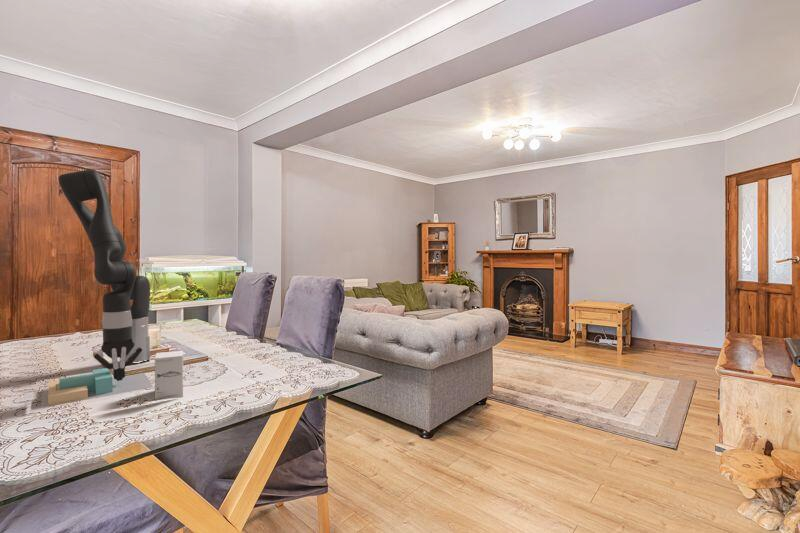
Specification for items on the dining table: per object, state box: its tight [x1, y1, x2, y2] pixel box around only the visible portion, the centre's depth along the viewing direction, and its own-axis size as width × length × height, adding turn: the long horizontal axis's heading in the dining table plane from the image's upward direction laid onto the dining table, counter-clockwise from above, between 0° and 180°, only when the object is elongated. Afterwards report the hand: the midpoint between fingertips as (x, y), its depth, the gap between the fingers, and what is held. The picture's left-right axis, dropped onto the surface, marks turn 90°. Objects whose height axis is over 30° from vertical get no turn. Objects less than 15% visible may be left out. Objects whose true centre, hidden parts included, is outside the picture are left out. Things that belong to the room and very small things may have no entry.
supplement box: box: [154, 350, 184, 402], centre depth 120 cm, size 7×7×13 cm
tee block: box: [58, 367, 113, 395], centre depth 120 cm, size 12×12×4 cm
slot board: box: [40, 372, 154, 409], centre depth 122 cm, size 26×18×4 cm
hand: (119, 379), depth 125 cm, fingers closed
